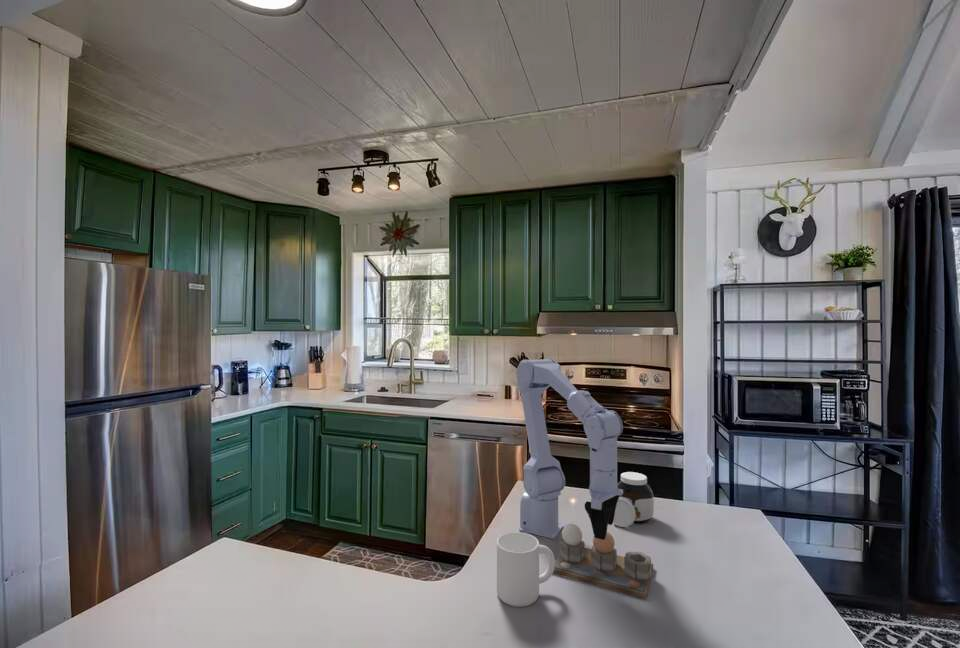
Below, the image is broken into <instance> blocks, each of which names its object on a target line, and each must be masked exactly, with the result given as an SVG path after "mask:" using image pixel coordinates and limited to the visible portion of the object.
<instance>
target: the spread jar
mask: <svg viewBox="0 0 960 648" xmlns="http://www.w3.org/2000/svg"><path fill="white" fill-rule="evenodd" d="M617 488H618V489H622V490H623V494H622V495H621V496H620V497H619V499H618V502H617V505H616V509H615V515H614V520H613V523H612V524H615V525H616V526H617V527H623V528H625V527H630V526H631V525H633V524H634V525H644V524H646V523H647V522H649V521H651V520H652V519H653V516H654V510H655V509H654V507H655V505H654V502H655V500H654V493H653V490H652V489H651V487H650V485H649V484H648V477H647V475H645V474H643V473H641V472H640V473H639V472H634V471H626V472H622V473H621V474H620V481H619V482H617Z"/></svg>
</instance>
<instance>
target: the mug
mask: <svg viewBox="0 0 960 648" xmlns="http://www.w3.org/2000/svg"><path fill="white" fill-rule="evenodd" d="M540 554H544V555H545V556H546V557H547V568H546V569H545V571H544V573H542V574H540ZM555 562H556V560H555V556H554V553H553V551H552V550H551V549H550V548H549V547H548V546H546V545H544V544H540V542H539V540H538V538H536V537H535V536H533V534H531V533H527V532H523V531H513V532H507V533H506V532H505V533H502V534H501V535H500V536H498V537H497V539H496V592H497V597H499V600H500V601H502V602H503V603H505V604H506V605H508V606H510V607H515V608H517V607H518V608H522V607H528V606H530V605H532V604H534V603H535V602H536V601H538V600H537V599H538V598H539V594H540V584H543V583H545V582H547V581H548V580H549V579H550V578H551V577H552V575H553V574H554V573H553V571H554V567H555Z"/></svg>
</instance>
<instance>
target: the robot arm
mask: <svg viewBox="0 0 960 648" xmlns="http://www.w3.org/2000/svg"><path fill="white" fill-rule="evenodd" d="M515 373H516V379H517V386H518V391H519V393H520V396H521V402H522V409H523V416H524V423H525V428H526V434H527V440H528V446H529V454H530V458H529V459H528V461H527V462H526V463H525V464H524V466H523V468H522V469H523V480H522V482H523V488H524V490H525V491H524V492H523V494H522V495H521V498H520V505H519V506H520V507H519V508H520V509H519V510H520V511H519V514H520V519H519V520H520V521H519V523H520V524H519V525H520V526H519V529H518V531H519V532H522V533H527V534H530V535H536V536H538V537H539V536H540V537H545V538H548V539H551V540H552V539H553V540H554V539H556V537H557V536H558V535H559V534H560V532H561V531H562V530H563V528H564V524H562V523H559V496H561V492H562V491H563V490H564V488H565V486H566V477H565V474H564V472H563V470H562V467H561V463H560V461H559V460H558V459H556V458H555V457H554V456H553V455H552V453H551V448H550V441H549V436H548V435H549V434H548V429H547V425H546V419H545V417H546V416H545V412H544V411H545V410H544V406H543V399H542V395H543V394H544V392H545V391H546V390H547V389H548V388H549V387H550V388H552V389H553V390H555V392H557V393H559V395H560V396H561V397H562V398H564V399H565V400H566V401H567V403H566V404H567V405H566V406H567V408H568V410H569V411H570V412H571V413H572V414H573V415H574V416H575V417H576V418H577V420H579V421H580V423H582V424H583V431H584V433H585V435H586V438H587V445H588V447H589V486H588V491H589V493H590V494H589V495H590V497H591V498H590V501H585V503H584V510H585V511H586V514H587V515H588V518H589V520H590V525H591V527H592V528H591V529H592V532H593V538H594V537H595V538H598V539H603V540H605V537H606V533H607V532H608V525H609V526H612V525H613V524H614V523H613V520H614V515H615V509H616V505H617V502H618V499H619V497H620V496H621V495H622V494H623V490H622V489H618V488H617V484H618V437H619V436H621V434H622V433H623V430H624V425H623V420H622V418H621V416H620V415H619V414H618V413H617V411H615V410H611V409H610V410H609V409H607V408H605V407H604V406H603V405H601V404H600V403H599V402H597V400H595V398H593V397H592V396H591V393H590V392H589V391H588V390H584V389H583V390H578V389H577V388H576V387H575V385H574V384H573V383H572V382H571V381H570V380H569V379H568V377H566V376H565V374H564V373H563V372H562V371H561V365H560V364H559V363H558V362H556V360H555V359H554V358H546V359H522V360H520V361H519V364H518V366H517V368H516V371H515Z"/></svg>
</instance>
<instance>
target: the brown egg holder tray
mask: <svg viewBox="0 0 960 648" xmlns="http://www.w3.org/2000/svg"><path fill="white" fill-rule="evenodd" d="M617 552H618V550H617V549H616V548H615V547H614V549H613V550H612V551H611V552H610V553H606V554H603V553H600V552H598V551H597V550H596V548H595V547H594V544H593V545H592V546H591V548H588V547H585V541H584V540H583V539H582V540H581V542H580V543H579V544H578V545H576V546H570V545H568V544H566V543H565V542H564V540H563V538H561V540H560V541H559V556H558V557H557V559H556V560H555V567H554V571H553V573H552V574H554V575H558V576H561V577H564V578H565V577H566V578H568V579H572V580H576V581H580V582H583V583H587V584H588V585H589V584H590V585H594V586H597V587H599V588H600V587H601V588H605V589H609V590H611V591H615V592H618V593H622V594H627V595H630V596H633V597H637V598H640V599H643V600H647V598H648V593H649V591H650V585H651V581H652V580H651V579H652V576H653V571H654V563H652V558H651V556H649V555H647V554H645V553H644V552H639V551H627V552H625V554H624V555H625V556H622V555H618V553H617Z"/></svg>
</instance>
